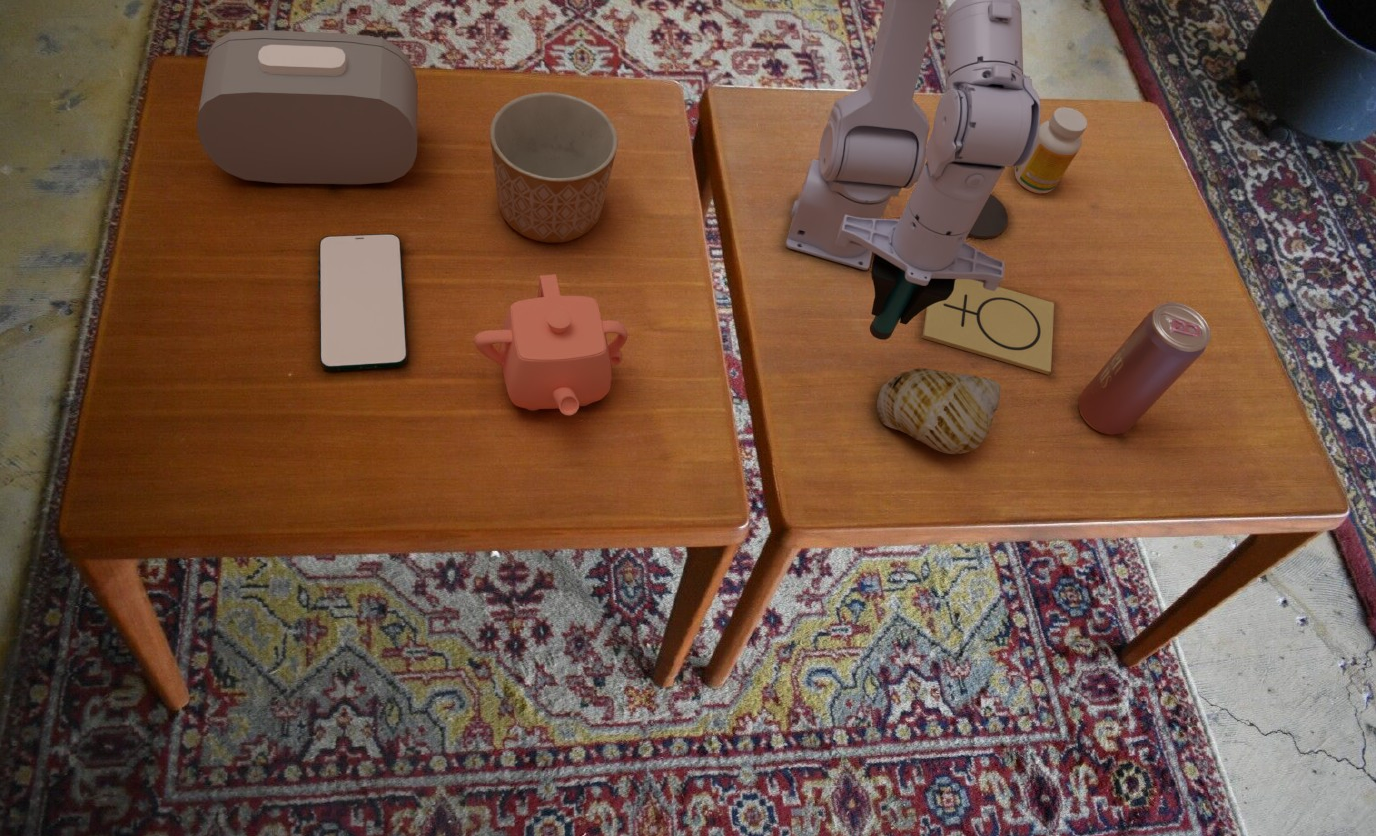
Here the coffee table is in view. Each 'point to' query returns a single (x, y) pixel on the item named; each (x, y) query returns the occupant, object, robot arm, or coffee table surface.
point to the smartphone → (361, 302)
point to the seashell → (940, 408)
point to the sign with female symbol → (994, 324)
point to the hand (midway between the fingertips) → (890, 311)
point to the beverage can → (1144, 367)
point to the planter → (552, 164)
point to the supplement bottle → (1052, 151)
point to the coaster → (990, 220)
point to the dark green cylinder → (893, 308)
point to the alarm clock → (309, 108)
